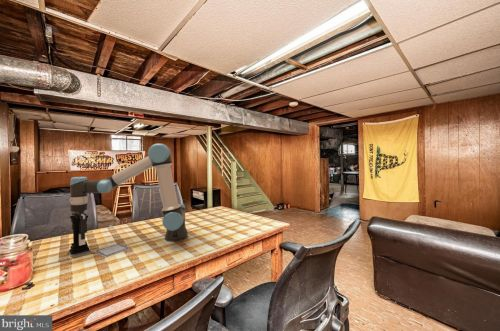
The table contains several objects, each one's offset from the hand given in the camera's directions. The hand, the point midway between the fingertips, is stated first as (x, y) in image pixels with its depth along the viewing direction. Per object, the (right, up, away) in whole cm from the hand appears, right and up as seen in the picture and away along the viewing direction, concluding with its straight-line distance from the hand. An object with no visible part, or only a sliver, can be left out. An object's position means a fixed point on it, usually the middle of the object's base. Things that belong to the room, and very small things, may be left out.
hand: (79, 243), depth 118 cm
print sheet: (+17, -6, +4) cm, 18 cm away
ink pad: (0, -6, 0) cm, 6 cm away
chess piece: (0, -4, 0) cm, 4 cm away
